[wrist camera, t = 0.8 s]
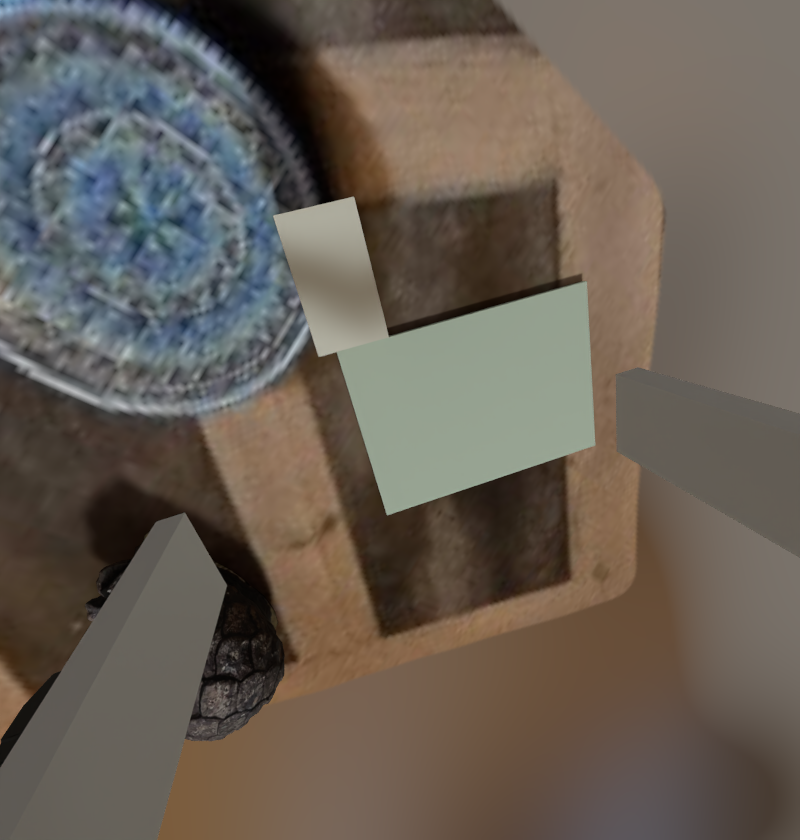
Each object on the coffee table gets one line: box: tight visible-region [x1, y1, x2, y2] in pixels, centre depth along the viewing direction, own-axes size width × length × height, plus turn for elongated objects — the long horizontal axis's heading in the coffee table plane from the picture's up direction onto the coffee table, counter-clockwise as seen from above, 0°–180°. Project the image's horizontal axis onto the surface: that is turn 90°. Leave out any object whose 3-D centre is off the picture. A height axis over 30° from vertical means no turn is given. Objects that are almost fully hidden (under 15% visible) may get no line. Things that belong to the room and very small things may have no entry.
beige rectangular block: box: [273, 197, 389, 357], centre depth 24 cm, size 7×4×10 cm, turn 14°
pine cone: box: [85, 532, 284, 741], centre depth 31 cm, size 10×18×10 cm, turn 39°
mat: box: [337, 281, 595, 515], centre depth 34 cm, size 16×22×1 cm
